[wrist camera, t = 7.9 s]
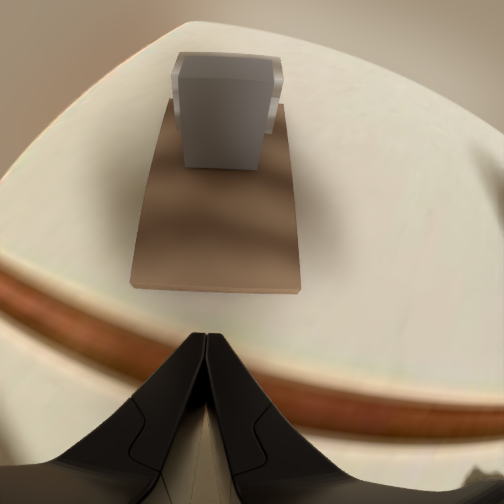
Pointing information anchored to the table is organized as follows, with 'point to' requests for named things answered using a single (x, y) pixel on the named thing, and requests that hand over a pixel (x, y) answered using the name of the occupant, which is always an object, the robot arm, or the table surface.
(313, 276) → the table surface
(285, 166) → the frame
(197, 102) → the block
